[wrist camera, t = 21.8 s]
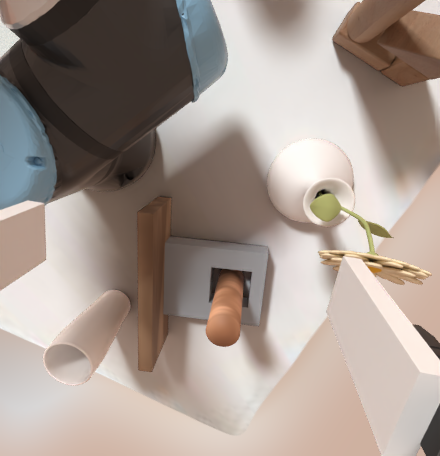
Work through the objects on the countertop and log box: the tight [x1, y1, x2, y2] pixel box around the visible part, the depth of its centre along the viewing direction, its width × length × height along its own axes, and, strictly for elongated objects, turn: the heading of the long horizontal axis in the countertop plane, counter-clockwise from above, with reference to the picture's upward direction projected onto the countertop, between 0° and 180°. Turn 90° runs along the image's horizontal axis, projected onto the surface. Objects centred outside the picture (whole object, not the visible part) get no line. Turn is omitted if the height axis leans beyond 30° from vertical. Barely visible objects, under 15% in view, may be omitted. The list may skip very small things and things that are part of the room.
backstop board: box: [137, 197, 171, 372], centre depth 47 cm, size 2×24×9 cm, turn 176°
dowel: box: [206, 269, 244, 347], centre depth 44 cm, size 4×4×14 cm
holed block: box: [163, 236, 269, 326], centre depth 49 cm, size 15×12×3 cm
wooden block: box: [332, 0, 440, 86], centre depth 31 cm, size 4×11×18 cm, turn 59°
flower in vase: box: [267, 138, 432, 285], centre depth 33 cm, size 13×11×25 cm
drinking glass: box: [43, 290, 130, 385], centre depth 47 cm, size 7×7×15 cm
